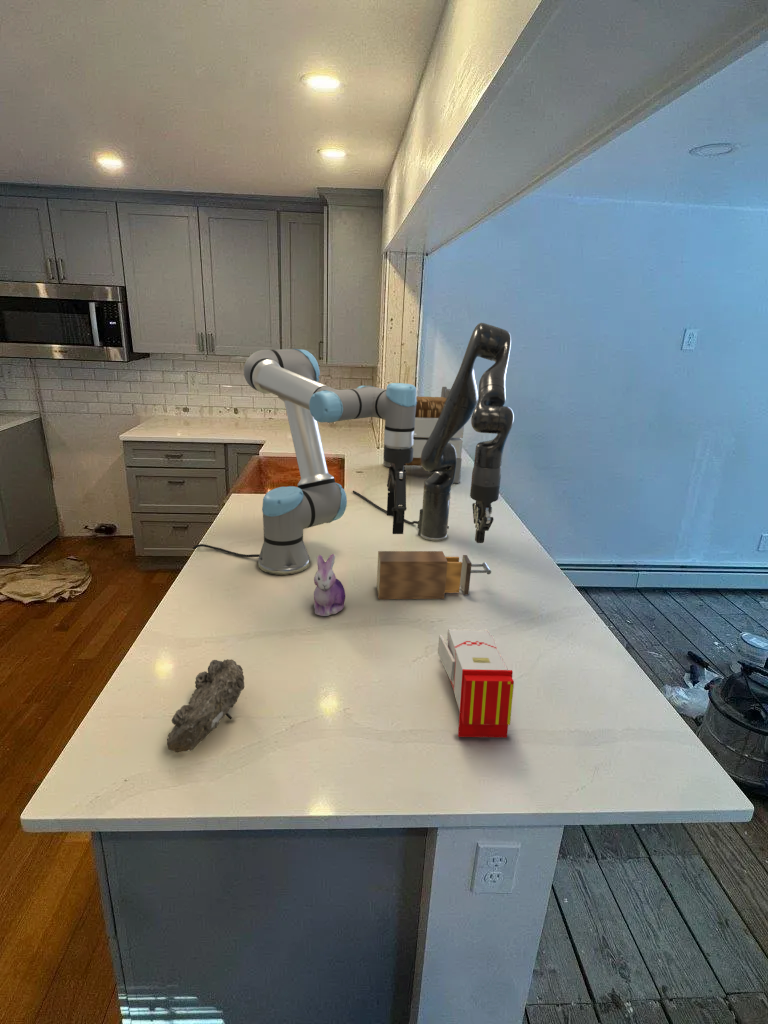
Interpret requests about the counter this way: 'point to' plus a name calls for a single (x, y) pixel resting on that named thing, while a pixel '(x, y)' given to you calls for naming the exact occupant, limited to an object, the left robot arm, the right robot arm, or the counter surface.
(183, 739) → the fossil
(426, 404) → the grey crate with legs
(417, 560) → the cabinet
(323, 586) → the figurine
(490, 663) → the toy
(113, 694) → the counter surface
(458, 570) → the drawer
